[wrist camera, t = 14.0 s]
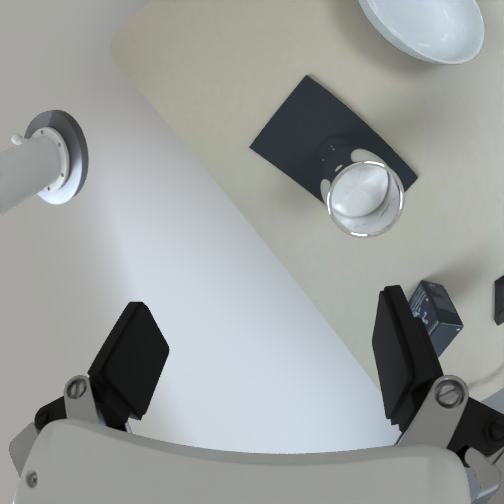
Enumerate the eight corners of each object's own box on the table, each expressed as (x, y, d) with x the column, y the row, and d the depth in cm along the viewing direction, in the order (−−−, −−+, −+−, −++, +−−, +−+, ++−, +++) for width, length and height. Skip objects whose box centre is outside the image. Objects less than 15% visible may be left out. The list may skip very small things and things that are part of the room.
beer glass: (370, 140, 31) (417, 172, 18) (357, 190, 35) (391, 247, 22) (317, 127, 31) (335, 148, 19) (307, 179, 35) (315, 231, 22)
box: (420, 279, 41) (441, 322, 32) (443, 284, 41) (465, 326, 32) (400, 312, 45) (415, 356, 36) (423, 316, 45) (439, 358, 36)
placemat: (249, 146, 34) (249, 147, 34) (306, 75, 28) (306, 75, 28) (361, 234, 38) (362, 236, 38) (416, 176, 33) (418, 177, 32)
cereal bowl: (476, 46, 20) (504, 43, 14) (402, 86, 27) (426, 86, 21) (405, -47, 14) (422, -65, 8) (319, -14, 21) (325, -35, 15)
